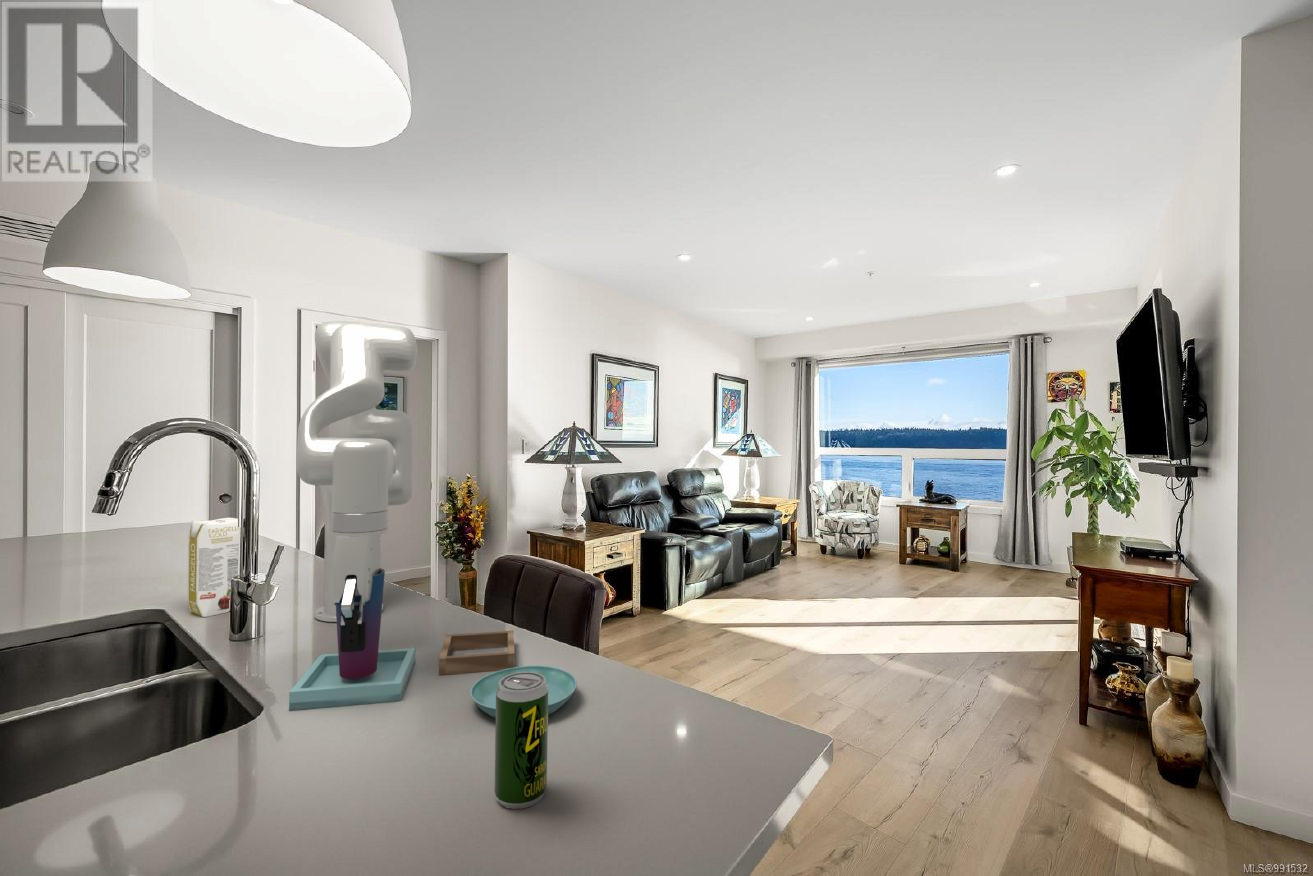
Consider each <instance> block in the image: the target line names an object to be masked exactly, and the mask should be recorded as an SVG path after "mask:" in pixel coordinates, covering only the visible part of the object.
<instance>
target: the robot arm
mask: <svg viewBox="0 0 1313 876" xmlns="http://www.w3.org/2000/svg"><path fill="white" fill-rule="evenodd" d="M314 343H315V350H316V354H317V356H318V360H319V363H320V364H321V367H322V369H323V372H324V374H325V377H326V380H327V384H328V388H329V389H327V390H325V391H324V392H323V393H322V394H320V395H319V396H317V397H316V398H315V399H314V400H313V401H311V403H310V404H309V406H308V407H307V408H306V409H305V411H304V412H303V414H302V416H301V418H300V421H299V425H298V430H297V442H296V456H295V457H296V459H295V460H296V461H295V462H296V463H295V464H296V470H297V474H298V476H299V478H300V480H301V481H302V482H303V483H306V484H307V485H310V486H320V492H321V498H322V505H323V515H324V555H323V556H324V559H323V561H324V566H323V567H324V568H323V605H322V606H320V607H318V608H317V609H315V611H314V619H316V620H318V621H322V622H327V623H328V622H329V623H337V620H336V605H337V604H338V603H339V602H340V601H341V600H342V599H343V600H342V605H341V610H342V613H341V636H340V651H341V652H355V651H363V650H364V649H365V642H366V622H363V620H364V609H365V603H366V602H368V601H369V600H370V597H371V591H372V581H373V576H374V575H377V574H379V569H380V568H381V569H382V555H381V554H382V544H381V543H382V540H381V534H386V533H387V532H388V529H389V528H388V527H389V523H388V522H389V507H390V506H401V505H405V504H407V503H409V502H410V500H411V499H412V496H413V493H414V452H415V451H414V448H415V447H414V442H415V441H414V427H413V421H412V420H411V417H410V416H409V415H408V414H407V412H404V411H401V410H394V409H377V408H376V407H377V406H379V404H380V403H382V401H383V399H384V397H385V380H384V379H385V378H384V377H385V376H384V371H390V372H411V371H412V370H413V369H414V368H415V366H416V363H417V360H418V344H417V339H416V337H415V335H414V333H413V331H412V330H411V329H410V328H408V327H404V326H398V325H386V324H385V325H384V324H378V323H377V324H376V323H366V322H360V321H359V322H358V321H357V322H356V321H347V320H346V321H345V320H333V321H325V322H322V323H320V324H318V325H317V327H316V329H315V333H314ZM328 426H329V428H328V434H329V435H328V436H329V437H318V435H319V434H320V432H321V431H322V430H323V429H324V428H326V427H328ZM343 592H344V595H343V597H342V594H343ZM355 596H361V600H360V601H356V602H354V598H355ZM341 597H342V598H341ZM354 606H359V613H358V611H357V609H354ZM383 610H384V603H382V611H383Z"/></svg>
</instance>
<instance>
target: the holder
mask: <svg viewBox="0 0 1313 876" xmlns="http://www.w3.org/2000/svg"><path fill="white" fill-rule="evenodd" d="M514 634H515V633H514V630H501V631H486V632H485V631H484V632H472V633H471V632H470V633H469V632H468V633H453V634H445V638H444V641H443V644H442V647H441V650H440V654H439V657H438V676H443V675H458V674H469V673H480V672H482V673H483V672H497V671H501V670H504V669H508V668H514V667H515V639H514V637H515V636H514ZM492 648H493V649H494V648H495V649H496V648H507V651H504V652H503V651H502V652H501V651H500V652H489V653H487V652H485V653H475V654H461V655H451V654H452V652H453V651H464V650H466V651H467V650H479V649H481V650H483V649H492Z"/></svg>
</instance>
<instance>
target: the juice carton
mask: <svg viewBox="0 0 1313 876" xmlns="http://www.w3.org/2000/svg"><path fill="white" fill-rule="evenodd" d="M238 519H239V518H237V517H223V518H217V519H213V520H191V522H190V524H189V530H188V537H187V541H188V542H187V543H188V544H187V603H188V609H189V611H190V613H192V614H195V615H196V616H199V617H202V618H207V617H213V616H216V615H222V614H225V613H230V612H229V600H230V592H231V580H232V578H233V577H234V576H235V575H237V574H238V548H239V527H238Z"/></svg>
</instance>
